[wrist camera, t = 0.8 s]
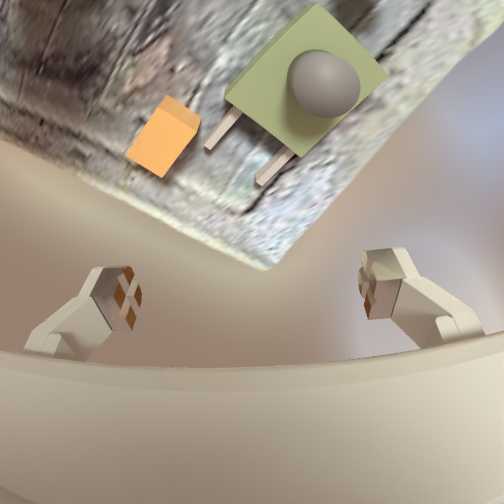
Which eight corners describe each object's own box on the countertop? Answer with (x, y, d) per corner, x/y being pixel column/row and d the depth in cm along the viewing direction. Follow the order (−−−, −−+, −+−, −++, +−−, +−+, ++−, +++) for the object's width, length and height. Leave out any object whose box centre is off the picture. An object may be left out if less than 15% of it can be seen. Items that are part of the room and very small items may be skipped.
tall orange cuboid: (137, 138, 37) (125, 155, 33) (167, 94, 33) (158, 106, 30) (169, 158, 39) (161, 177, 35) (201, 117, 36) (196, 132, 32)
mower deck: (191, 130, 37) (180, 163, 30) (309, 3, 26) (330, 1, 20) (261, 178, 42) (266, 219, 35) (375, 69, 31) (410, 88, 25)
